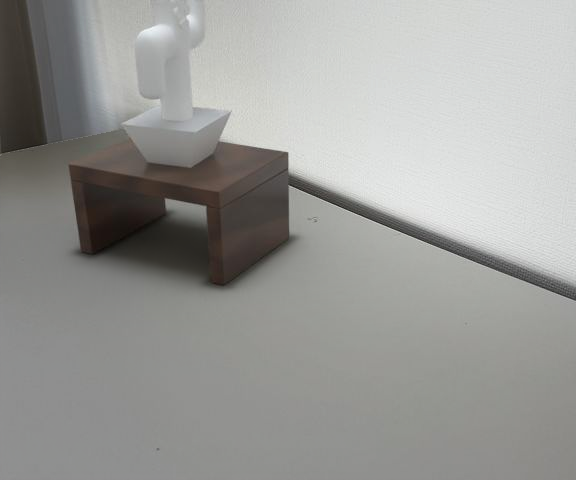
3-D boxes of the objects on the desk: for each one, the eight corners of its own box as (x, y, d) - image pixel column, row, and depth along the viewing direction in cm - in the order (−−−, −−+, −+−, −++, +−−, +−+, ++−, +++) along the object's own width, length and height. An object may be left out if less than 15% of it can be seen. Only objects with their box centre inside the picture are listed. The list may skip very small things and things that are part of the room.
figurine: (118, 169, 76) (97, -18, 68) (170, 139, 84) (156, -32, 76) (191, 178, 74) (178, -13, 66) (238, 147, 81) (231, -29, 73)
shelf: (80, 251, 82) (67, 163, 78) (155, 211, 91) (148, 129, 87) (223, 285, 76) (218, 191, 71) (289, 238, 85) (288, 151, 80)
